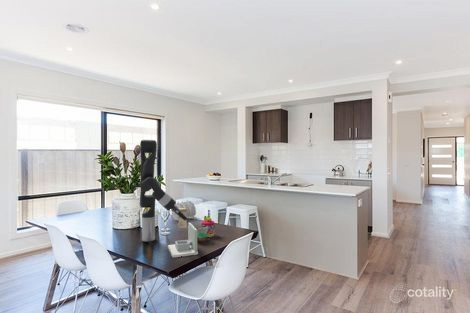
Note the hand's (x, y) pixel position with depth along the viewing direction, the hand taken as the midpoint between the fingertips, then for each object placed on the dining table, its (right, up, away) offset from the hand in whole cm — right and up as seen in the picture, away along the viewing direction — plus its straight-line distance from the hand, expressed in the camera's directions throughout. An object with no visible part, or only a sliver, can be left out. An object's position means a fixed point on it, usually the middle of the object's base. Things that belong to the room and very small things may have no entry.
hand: (185, 218), depth 179 cm
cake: (+12, -21, +33) cm, 41 cm away
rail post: (-2, -5, -1) cm, 6 cm away
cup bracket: (-2, -21, -1) cm, 21 cm away
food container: (+9, -21, +19) cm, 30 cm away
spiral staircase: (-18, -20, +86) cm, 91 cm away
